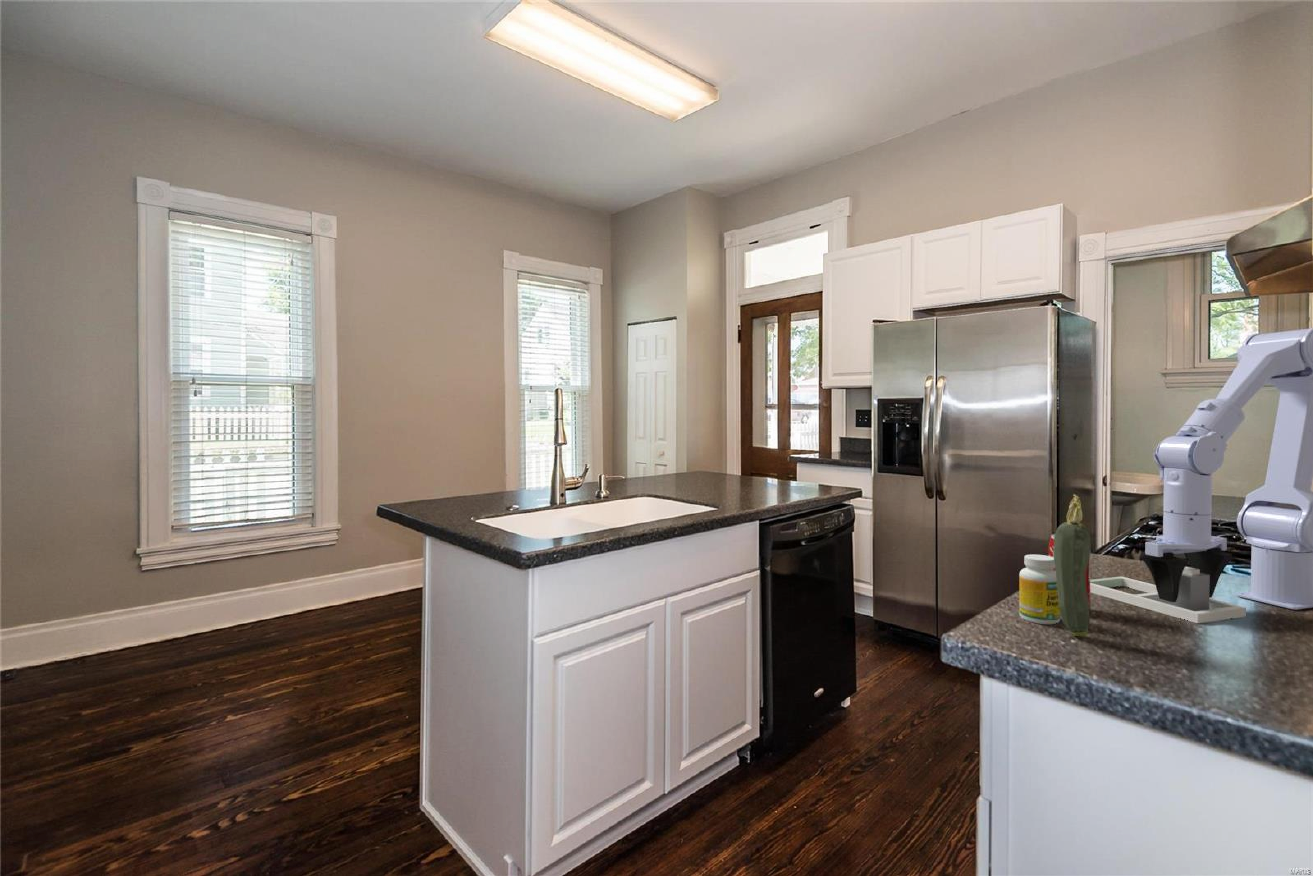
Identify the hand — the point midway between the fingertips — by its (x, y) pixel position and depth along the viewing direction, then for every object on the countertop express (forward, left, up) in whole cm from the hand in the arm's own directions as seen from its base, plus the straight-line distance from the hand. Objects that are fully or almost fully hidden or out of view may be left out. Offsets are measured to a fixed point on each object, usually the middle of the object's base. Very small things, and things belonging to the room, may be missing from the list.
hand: (1185, 598), depth 96 cm
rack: (0, -4, -2) cm, 5 cm away
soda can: (+17, -6, -2) cm, 18 cm away
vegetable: (+27, +4, -2) cm, 27 cm away
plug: (0, 0, -2) cm, 2 cm away
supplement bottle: (+25, -4, -2) cm, 25 cm away
